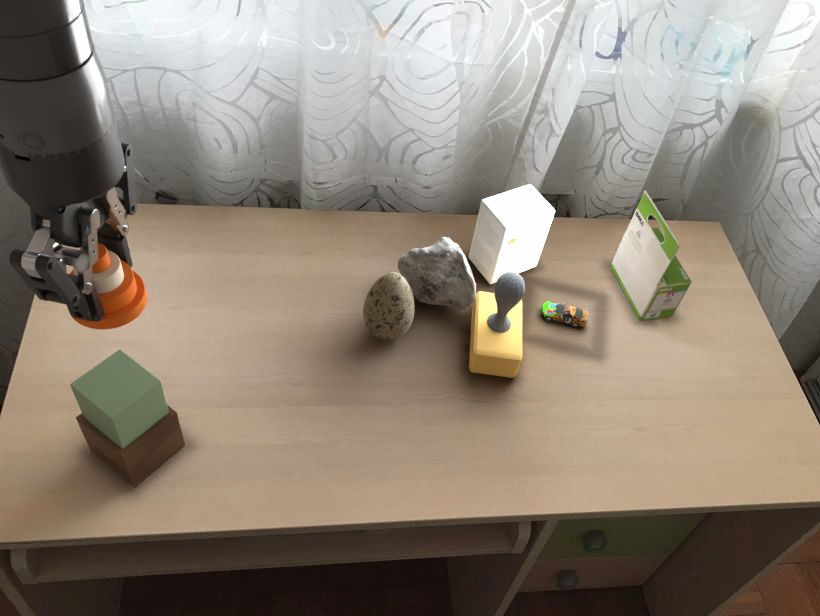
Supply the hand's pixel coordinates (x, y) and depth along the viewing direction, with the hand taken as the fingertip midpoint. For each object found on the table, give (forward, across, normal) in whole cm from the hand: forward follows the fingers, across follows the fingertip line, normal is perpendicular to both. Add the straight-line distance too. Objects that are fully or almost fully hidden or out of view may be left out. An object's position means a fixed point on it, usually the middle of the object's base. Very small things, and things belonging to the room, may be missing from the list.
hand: (104, 291), depth 60 cm
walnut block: (+22, +2, 0) cm, 22 cm away
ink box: (+22, -36, +53) cm, 68 cm away
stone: (+22, -26, +26) cm, 43 cm away
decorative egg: (+22, -20, +21) cm, 36 cm away
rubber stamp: (+22, -22, +34) cm, 46 cm away
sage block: (+16, +2, 0) cm, 16 cm away
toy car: (+22, -28, +43) cm, 56 cm away
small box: (+22, -36, +34) cm, 54 cm away
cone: (+1, 0, 0) cm, 1 cm away
